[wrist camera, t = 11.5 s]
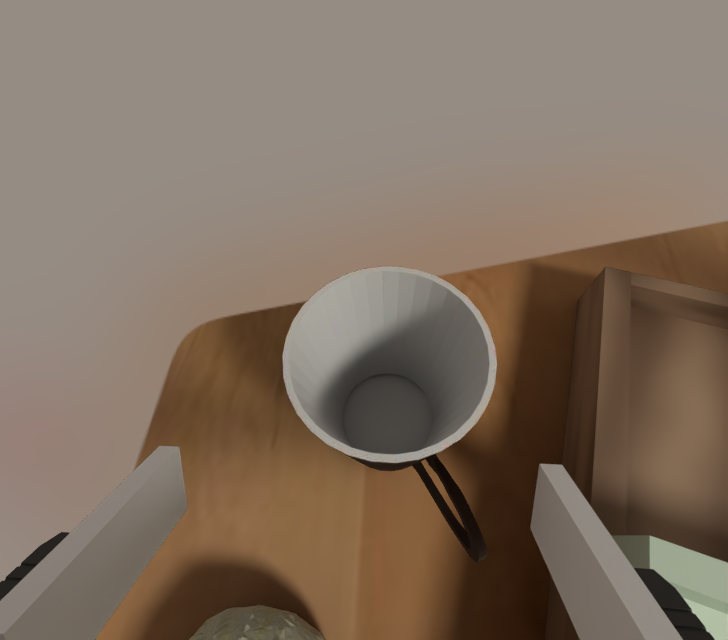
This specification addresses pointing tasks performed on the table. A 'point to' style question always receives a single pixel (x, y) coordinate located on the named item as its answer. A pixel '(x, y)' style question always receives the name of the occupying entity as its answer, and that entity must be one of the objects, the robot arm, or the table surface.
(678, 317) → the brown wooden shallow box
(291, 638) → the sea urchin shell
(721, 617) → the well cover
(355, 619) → the table surface
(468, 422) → the coffee mug
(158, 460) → the robot arm
